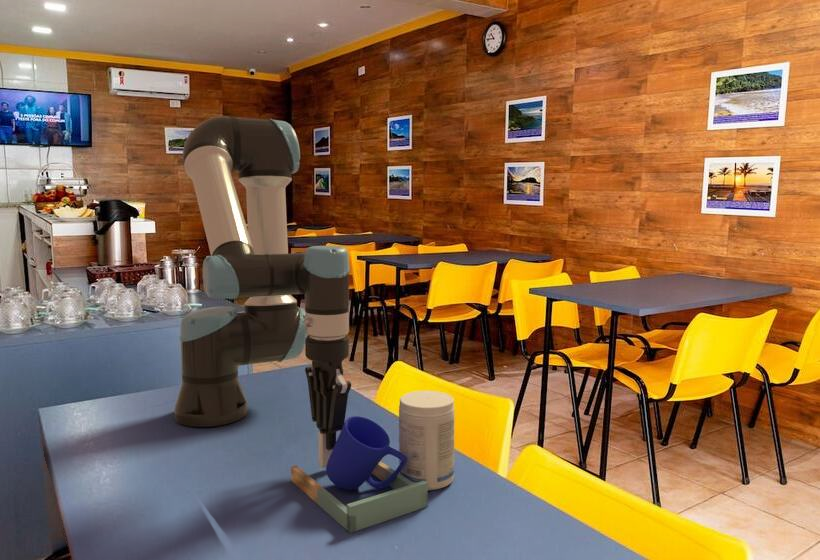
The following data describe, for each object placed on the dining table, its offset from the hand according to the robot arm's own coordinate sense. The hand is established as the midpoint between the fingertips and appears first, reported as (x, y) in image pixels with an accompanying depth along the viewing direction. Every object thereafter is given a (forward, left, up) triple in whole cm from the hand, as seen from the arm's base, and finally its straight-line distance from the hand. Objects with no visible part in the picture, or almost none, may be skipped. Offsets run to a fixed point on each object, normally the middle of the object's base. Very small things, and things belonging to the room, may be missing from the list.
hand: (327, 464), depth 111 cm
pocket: (+10, 0, -1) cm, 10 cm away
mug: (+8, 0, -1) cm, 8 cm away
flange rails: (+10, 0, -1) cm, 10 cm away
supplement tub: (+13, +12, -1) cm, 18 cm away
